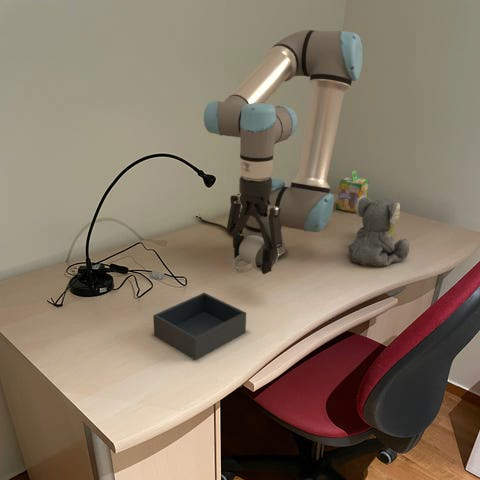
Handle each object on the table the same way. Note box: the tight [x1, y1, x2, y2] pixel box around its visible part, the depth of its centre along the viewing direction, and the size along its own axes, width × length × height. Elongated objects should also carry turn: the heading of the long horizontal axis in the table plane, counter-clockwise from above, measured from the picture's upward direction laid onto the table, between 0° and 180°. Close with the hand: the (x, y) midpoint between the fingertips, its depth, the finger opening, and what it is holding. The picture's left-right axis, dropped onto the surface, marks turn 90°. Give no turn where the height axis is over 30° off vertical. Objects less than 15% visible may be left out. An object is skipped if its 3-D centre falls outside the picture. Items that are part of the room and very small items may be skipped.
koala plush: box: [347, 196, 410, 267], centre depth 161 cm, size 17×18×20 cm
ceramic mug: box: [232, 235, 279, 274], centre depth 129 cm, size 11×8×8 cm
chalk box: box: [336, 169, 370, 213], centre depth 205 cm, size 9×9×15 cm
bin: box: [152, 292, 247, 361], centre depth 123 cm, size 14×16×6 cm
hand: (252, 266), depth 130 cm, fingers closed on ceramic mug, 9 cm apart
